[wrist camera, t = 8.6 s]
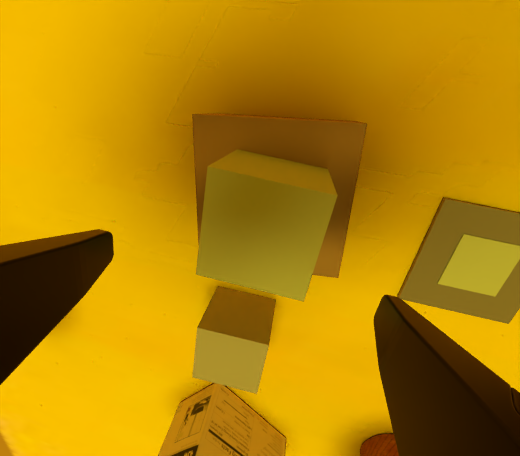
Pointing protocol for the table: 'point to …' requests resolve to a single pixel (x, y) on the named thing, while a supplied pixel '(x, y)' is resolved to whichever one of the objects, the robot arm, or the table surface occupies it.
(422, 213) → the table surface
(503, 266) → the swatch card
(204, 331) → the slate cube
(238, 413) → the light bulb box
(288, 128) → the walnut block
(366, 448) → the disposable coffee cup
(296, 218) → the sage cube
